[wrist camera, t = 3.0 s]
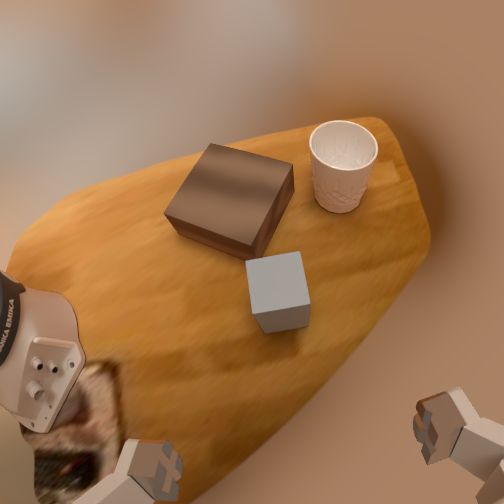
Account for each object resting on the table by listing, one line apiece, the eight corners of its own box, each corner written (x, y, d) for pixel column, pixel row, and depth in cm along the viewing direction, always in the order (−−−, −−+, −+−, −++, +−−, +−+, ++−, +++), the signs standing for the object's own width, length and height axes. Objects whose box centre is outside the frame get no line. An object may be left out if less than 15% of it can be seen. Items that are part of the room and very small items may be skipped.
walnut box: (258, 266, 40) (250, 245, 34) (179, 235, 44) (163, 213, 38) (294, 191, 44) (292, 164, 38) (220, 169, 47) (210, 143, 42)
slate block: (308, 326, 36) (310, 303, 27) (265, 333, 36) (252, 313, 27) (300, 285, 38) (299, 250, 29) (259, 293, 38) (245, 260, 29)
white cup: (304, 211, 42) (302, 162, 33) (315, 166, 45) (315, 115, 36) (362, 223, 40) (375, 176, 31) (368, 176, 43) (379, 127, 34)
